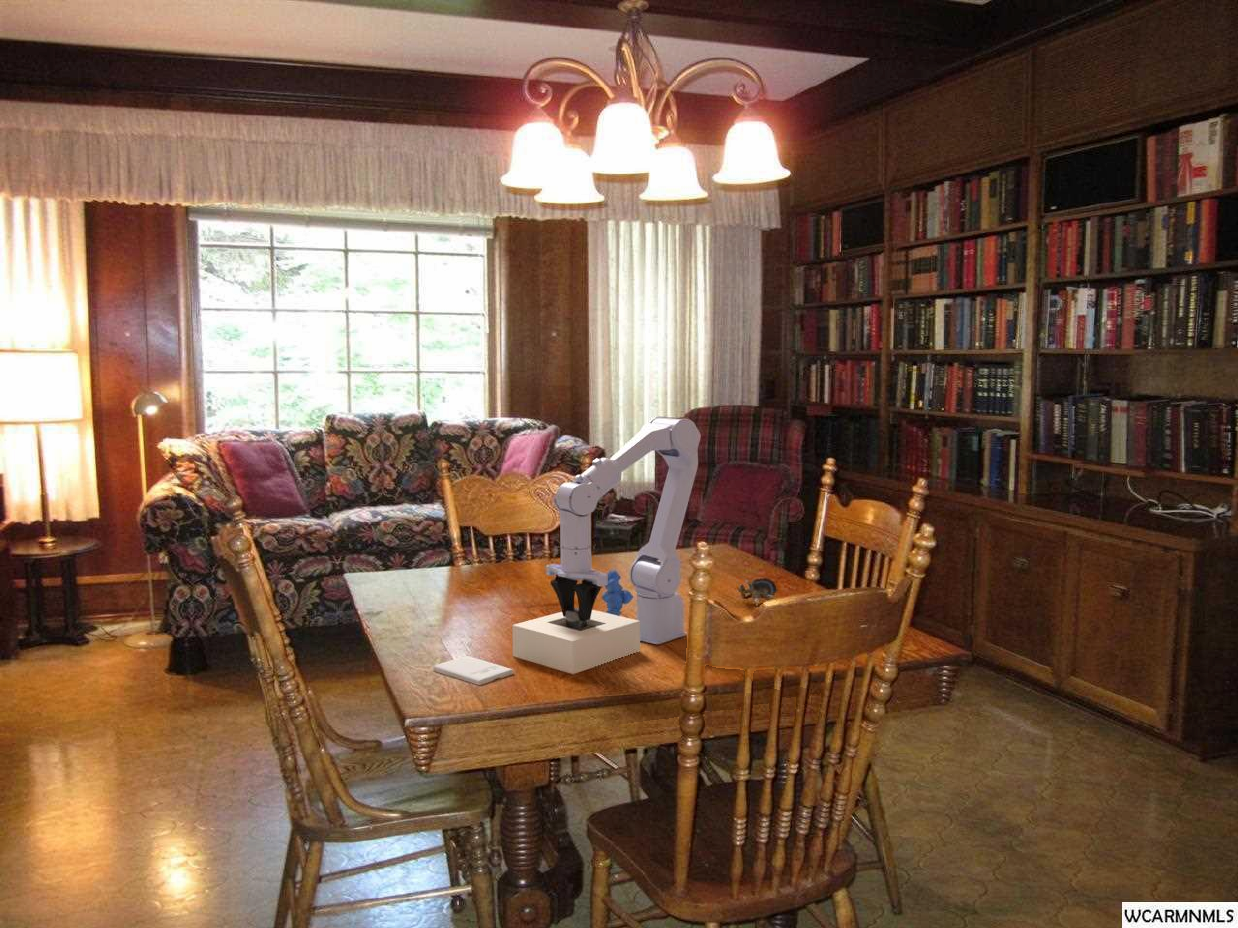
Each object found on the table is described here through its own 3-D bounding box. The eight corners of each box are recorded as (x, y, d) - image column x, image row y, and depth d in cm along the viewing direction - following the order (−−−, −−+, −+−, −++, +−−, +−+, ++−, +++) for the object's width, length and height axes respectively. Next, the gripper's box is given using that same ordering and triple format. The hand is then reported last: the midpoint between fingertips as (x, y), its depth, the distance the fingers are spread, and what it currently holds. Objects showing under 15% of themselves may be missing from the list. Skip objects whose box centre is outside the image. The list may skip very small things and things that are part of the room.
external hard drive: (468, 663, 184) (514, 676, 176) (433, 674, 178) (479, 688, 170) (468, 654, 184) (514, 667, 176) (433, 665, 178) (479, 679, 170)
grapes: (634, 632, 202) (634, 574, 200) (601, 632, 202) (600, 574, 200) (633, 617, 213) (632, 562, 212) (601, 617, 213) (601, 562, 212)
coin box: (580, 635, 200) (580, 606, 199) (640, 651, 189) (640, 620, 188) (512, 656, 186) (512, 624, 186) (572, 674, 176) (572, 641, 175)
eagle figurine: (737, 603, 220) (777, 598, 217) (735, 573, 224) (775, 568, 221) (745, 614, 226) (784, 610, 224) (743, 585, 230) (782, 580, 227)
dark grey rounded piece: (576, 621, 190) (576, 606, 189) (591, 625, 187) (591, 609, 187) (561, 625, 187) (561, 610, 186) (576, 629, 184) (575, 613, 184)
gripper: (533, 544, 187) (534, 615, 189) (588, 554, 178) (589, 628, 179) (560, 539, 192) (561, 608, 194) (615, 549, 183) (615, 621, 184)
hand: (576, 617), depth 187 cm, fingers closed on dark grey rounded piece, 4 cm apart
